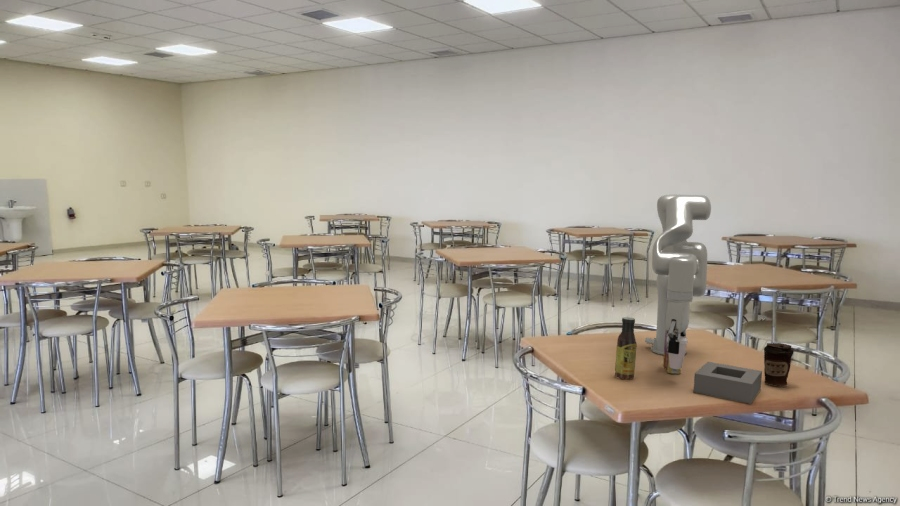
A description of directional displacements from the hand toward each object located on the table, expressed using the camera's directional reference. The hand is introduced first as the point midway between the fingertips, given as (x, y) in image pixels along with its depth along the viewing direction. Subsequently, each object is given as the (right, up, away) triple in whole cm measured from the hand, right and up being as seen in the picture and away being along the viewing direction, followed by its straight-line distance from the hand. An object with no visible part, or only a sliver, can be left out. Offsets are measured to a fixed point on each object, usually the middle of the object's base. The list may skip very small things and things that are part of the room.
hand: (676, 350), depth 191 cm
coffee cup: (+32, -11, +1) cm, 34 cm away
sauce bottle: (-15, -10, +6) cm, 19 cm away
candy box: (+4, -10, +15) cm, 18 cm away
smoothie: (0, -6, +1) cm, 6 cm away
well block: (+14, -12, -6) cm, 19 cm away
